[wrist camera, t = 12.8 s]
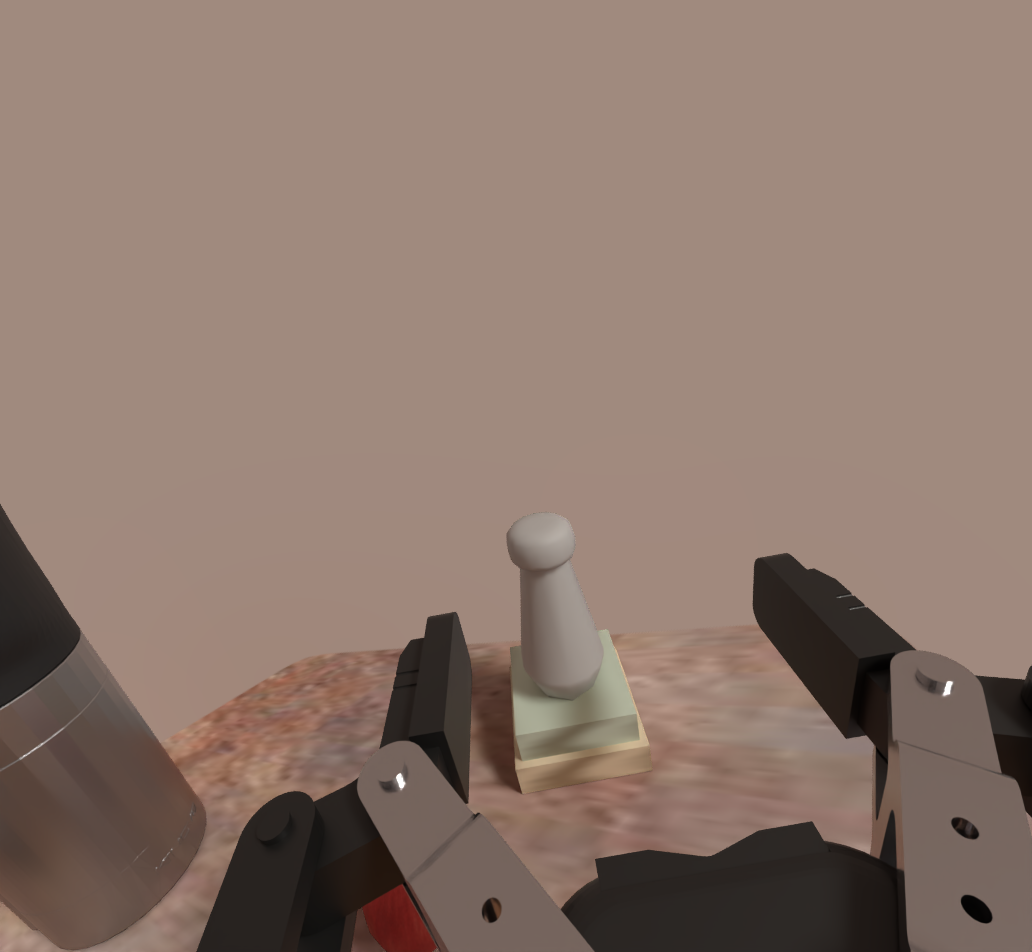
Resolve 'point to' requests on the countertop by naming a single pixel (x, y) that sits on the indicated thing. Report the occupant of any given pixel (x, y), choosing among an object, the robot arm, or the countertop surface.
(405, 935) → the onion
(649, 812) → the countertop surface
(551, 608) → the salt shaker
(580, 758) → the brick base
